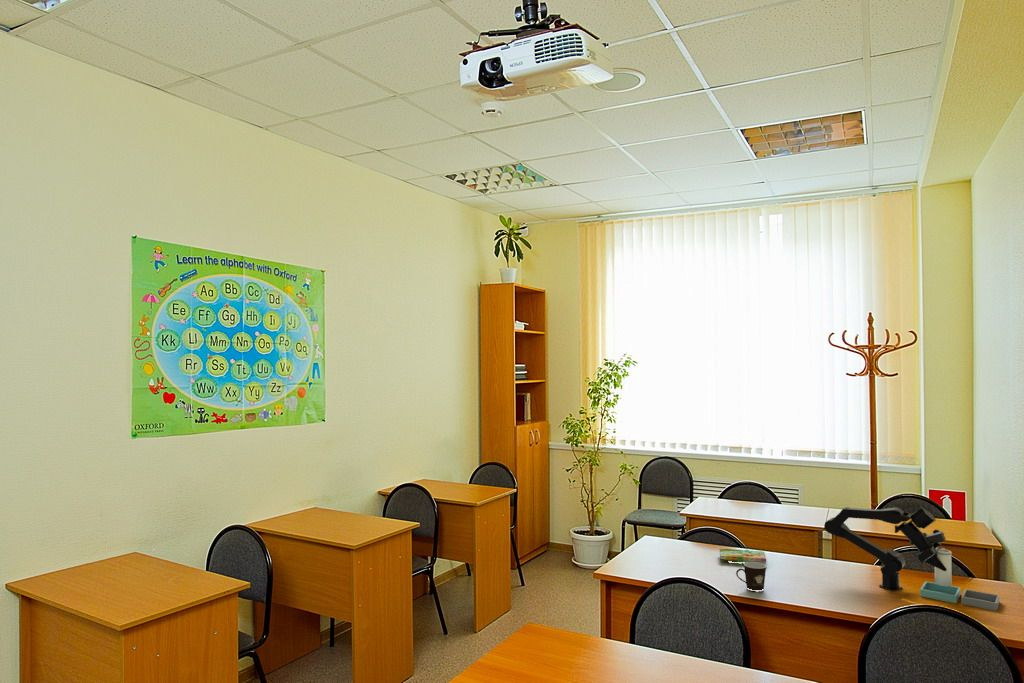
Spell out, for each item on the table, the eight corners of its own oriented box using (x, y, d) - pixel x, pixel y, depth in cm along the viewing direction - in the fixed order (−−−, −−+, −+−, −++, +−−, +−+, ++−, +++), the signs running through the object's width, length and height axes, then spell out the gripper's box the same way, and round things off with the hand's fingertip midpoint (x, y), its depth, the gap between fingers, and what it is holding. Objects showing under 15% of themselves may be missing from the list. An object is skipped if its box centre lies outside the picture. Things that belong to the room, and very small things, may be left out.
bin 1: (956, 605, 260) (956, 596, 260) (920, 598, 268) (920, 589, 268) (960, 596, 269) (960, 587, 269) (925, 590, 277) (925, 581, 277)
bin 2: (996, 612, 252) (996, 603, 252) (961, 605, 259) (961, 596, 259) (999, 604, 261) (999, 595, 261) (965, 597, 268) (965, 588, 268)
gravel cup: (946, 587, 264) (946, 551, 264) (931, 582, 269) (931, 547, 269) (954, 584, 267) (954, 549, 267) (939, 580, 272) (939, 545, 272)
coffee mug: (766, 587, 281) (765, 563, 281) (766, 594, 272) (766, 569, 273) (736, 584, 284) (736, 560, 285) (736, 591, 276) (736, 566, 276)
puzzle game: (766, 557, 307) (720, 553, 313) (766, 567, 307) (720, 564, 313) (764, 550, 319) (719, 546, 324) (764, 560, 319) (719, 556, 324)
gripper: (927, 528, 263) (961, 562, 256) (935, 519, 278) (967, 551, 271) (904, 544, 268) (936, 579, 261) (913, 535, 283) (944, 567, 276)
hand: (947, 568), depth 267 cm, fingers closed on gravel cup, 6 cm apart
